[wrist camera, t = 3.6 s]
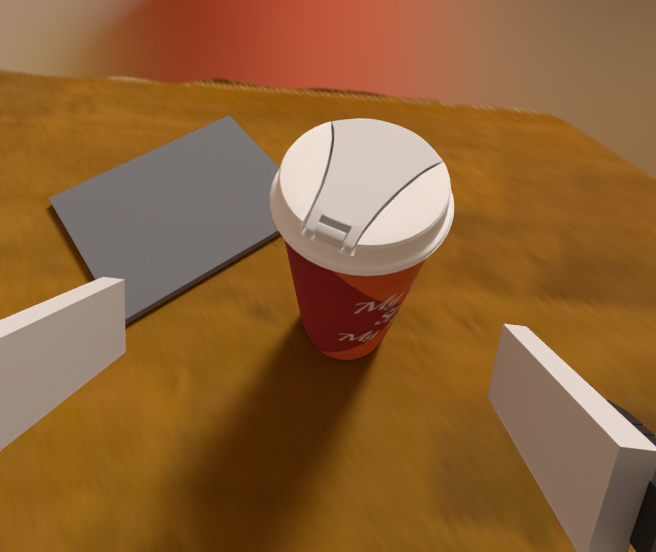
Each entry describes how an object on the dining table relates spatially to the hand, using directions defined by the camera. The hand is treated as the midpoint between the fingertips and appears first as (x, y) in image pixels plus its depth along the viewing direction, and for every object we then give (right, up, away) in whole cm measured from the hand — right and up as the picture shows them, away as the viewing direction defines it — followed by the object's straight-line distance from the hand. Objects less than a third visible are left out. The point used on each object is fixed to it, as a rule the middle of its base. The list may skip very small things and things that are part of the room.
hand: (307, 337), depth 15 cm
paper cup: (+2, -1, +14) cm, 14 cm away
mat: (-10, +7, +19) cm, 23 cm away
